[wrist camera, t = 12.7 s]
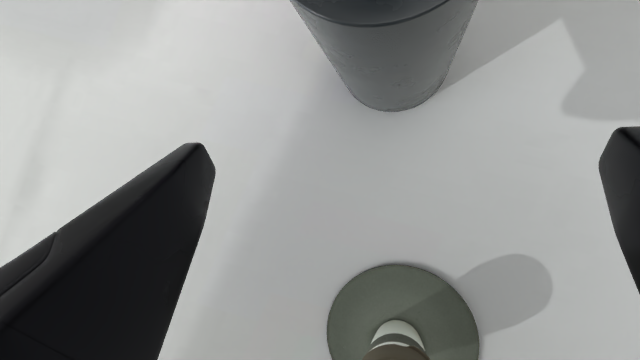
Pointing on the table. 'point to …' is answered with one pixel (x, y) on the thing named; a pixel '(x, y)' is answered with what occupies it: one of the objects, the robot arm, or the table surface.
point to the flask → (388, 45)
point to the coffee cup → (400, 318)
